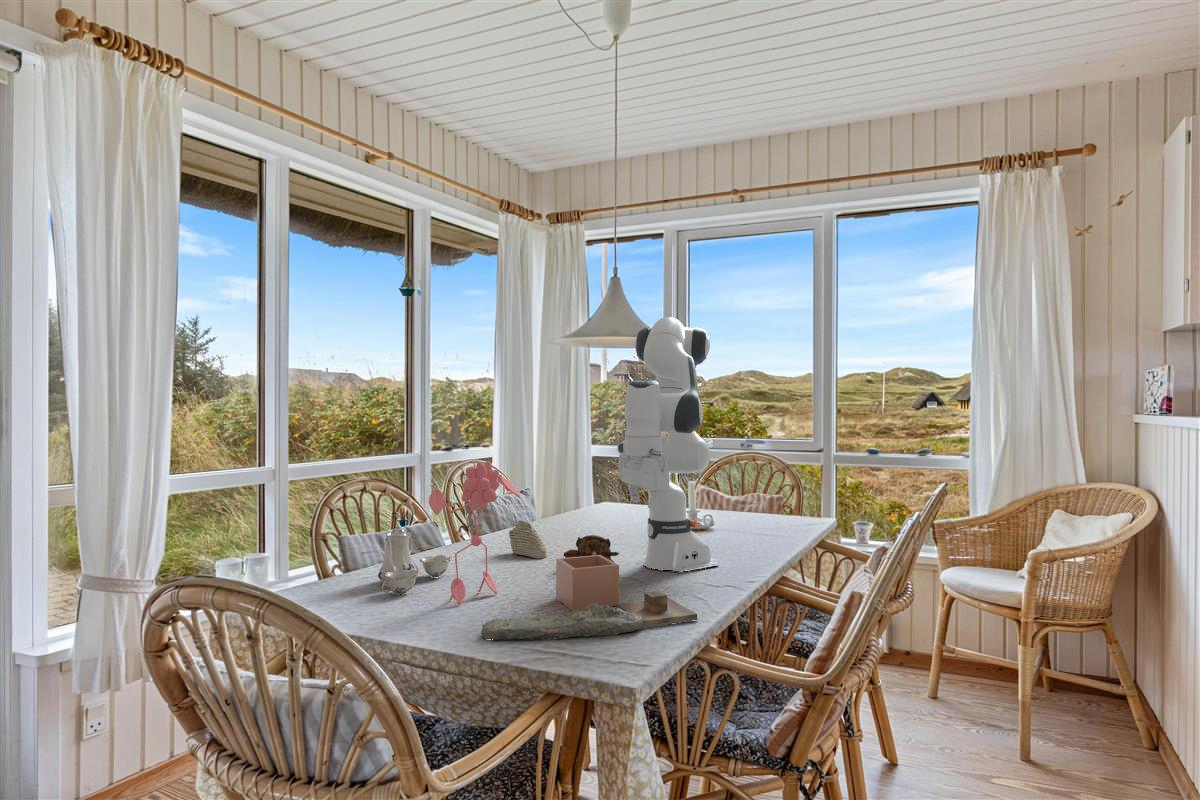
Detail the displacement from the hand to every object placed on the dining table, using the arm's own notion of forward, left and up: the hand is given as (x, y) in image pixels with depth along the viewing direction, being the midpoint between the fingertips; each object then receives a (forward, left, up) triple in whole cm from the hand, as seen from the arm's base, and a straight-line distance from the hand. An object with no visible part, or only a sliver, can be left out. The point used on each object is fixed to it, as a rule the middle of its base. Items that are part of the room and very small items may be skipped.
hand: (643, 505), depth 170 cm
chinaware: (+49, -44, -25) cm, 71 cm away
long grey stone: (+23, +8, -25) cm, 36 cm away
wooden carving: (-3, -40, -25) cm, 48 cm away
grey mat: (-1, +6, -25) cm, 25 cm away
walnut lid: (-1, +5, -24) cm, 25 cm away
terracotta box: (+10, -10, -25) cm, 29 cm away
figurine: (+34, -20, -25) cm, 47 cm away
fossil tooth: (+10, -66, -25) cm, 71 cm away
